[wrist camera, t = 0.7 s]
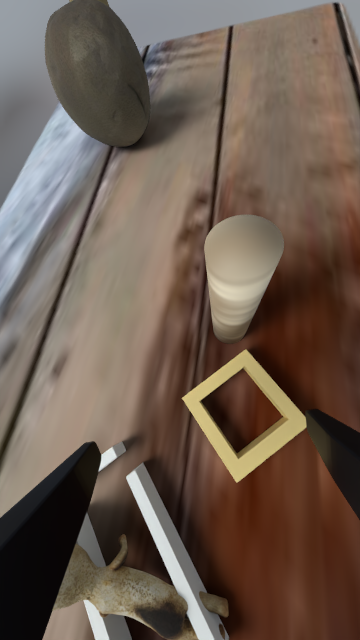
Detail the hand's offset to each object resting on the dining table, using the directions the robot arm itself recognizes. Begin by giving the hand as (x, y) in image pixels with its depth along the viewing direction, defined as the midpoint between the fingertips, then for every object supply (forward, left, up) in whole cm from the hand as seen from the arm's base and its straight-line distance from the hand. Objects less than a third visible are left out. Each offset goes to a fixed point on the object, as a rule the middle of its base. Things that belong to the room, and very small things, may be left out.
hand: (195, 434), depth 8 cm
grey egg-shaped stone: (+46, -15, -13) cm, 50 cm away
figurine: (-7, +13, -13) cm, 19 cm away
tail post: (+5, -7, -13) cm, 15 cm away
